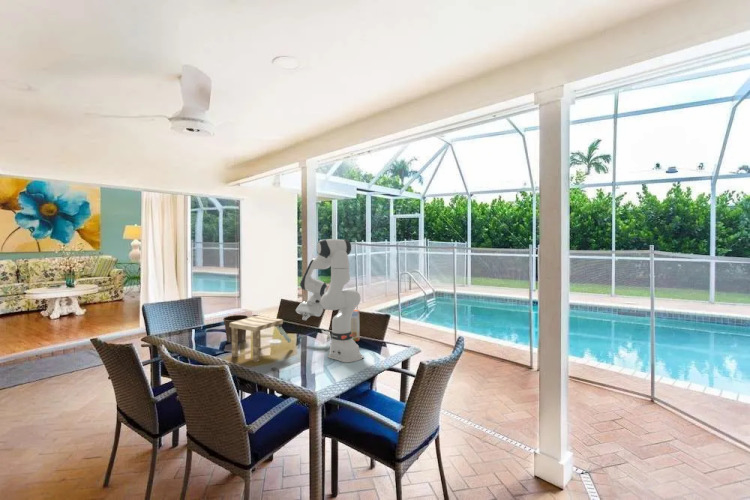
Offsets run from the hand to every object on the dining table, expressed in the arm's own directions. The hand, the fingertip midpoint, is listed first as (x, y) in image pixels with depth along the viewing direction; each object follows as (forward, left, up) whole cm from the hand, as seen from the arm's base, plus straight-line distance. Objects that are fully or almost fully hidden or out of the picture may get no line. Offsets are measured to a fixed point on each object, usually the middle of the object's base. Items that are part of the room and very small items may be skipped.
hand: (304, 319), depth 254 cm
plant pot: (+35, +33, -16) cm, 51 cm away
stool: (-3, +34, -16) cm, 38 cm away
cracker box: (-15, -27, -16) cm, 34 cm away
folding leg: (-5, +13, -12) cm, 18 cm away
